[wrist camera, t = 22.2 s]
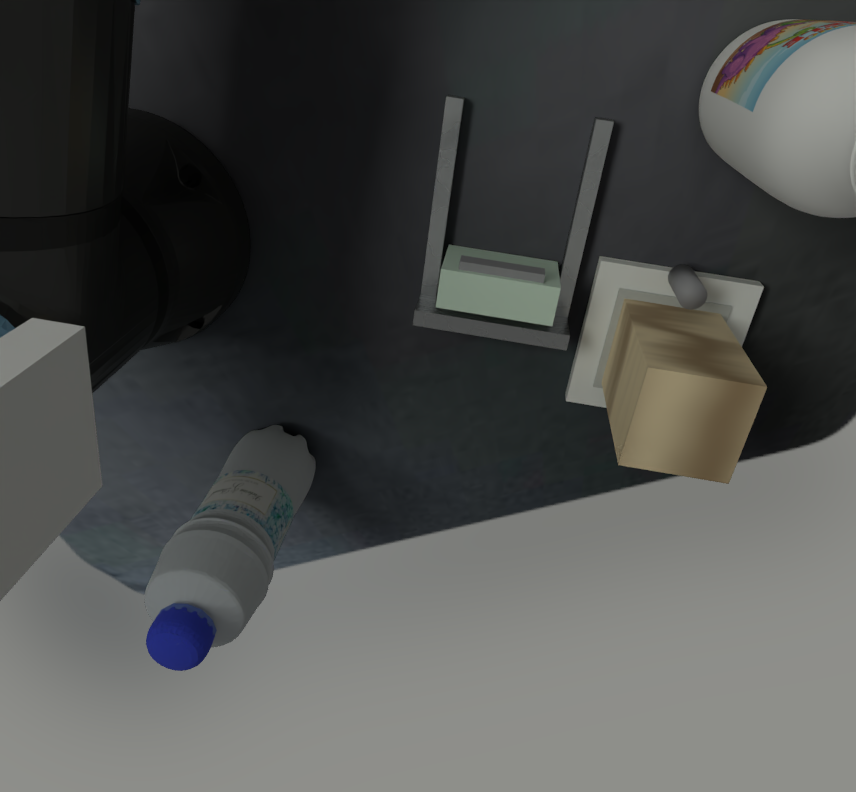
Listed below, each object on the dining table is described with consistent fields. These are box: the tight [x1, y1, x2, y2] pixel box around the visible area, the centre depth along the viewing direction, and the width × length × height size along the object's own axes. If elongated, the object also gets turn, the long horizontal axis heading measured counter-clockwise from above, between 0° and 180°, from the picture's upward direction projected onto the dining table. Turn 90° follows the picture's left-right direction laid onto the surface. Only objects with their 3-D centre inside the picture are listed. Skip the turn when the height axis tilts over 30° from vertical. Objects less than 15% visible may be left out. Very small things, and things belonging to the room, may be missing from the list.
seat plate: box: [565, 256, 764, 408], centre depth 46 cm, size 10×11×4 cm
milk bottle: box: [699, 19, 856, 218], centre depth 32 cm, size 8×8×20 cm
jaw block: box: [602, 298, 767, 484], centre depth 42 cm, size 6×6×10 cm
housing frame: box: [413, 95, 614, 351], centre depth 43 cm, size 10×13×4 cm
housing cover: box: [436, 245, 561, 326], centre depth 45 cm, size 7×3×5 cm, turn 83°
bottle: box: [145, 425, 316, 671], centre depth 47 cm, size 7×7×20 cm
